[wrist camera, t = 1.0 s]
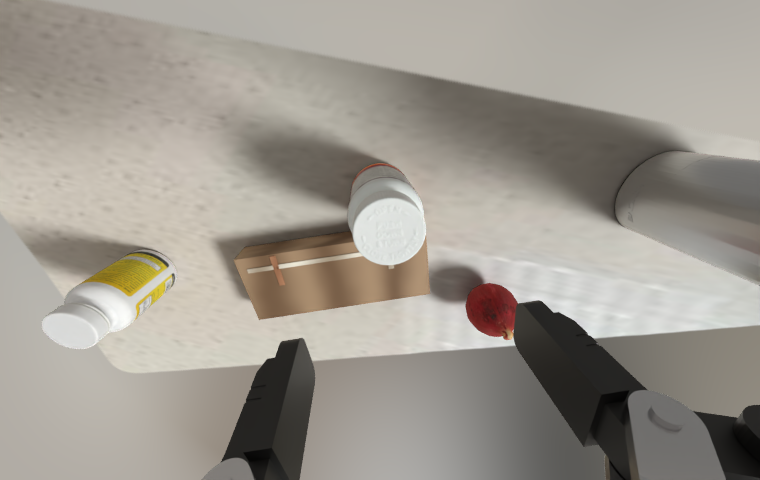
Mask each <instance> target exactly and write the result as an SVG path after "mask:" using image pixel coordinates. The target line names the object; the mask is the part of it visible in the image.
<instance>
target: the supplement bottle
mask: <svg viewBox="0 0 760 480" xmlns="http://www.w3.org/2000/svg"><path fill="white" fill-rule="evenodd" d="M176 279H177V270H176V268H175V266H174V264H173V263H172V262H171V261H170V260H169V259H168V258H167V257H165V256H164V255H162V254H160V253H158V252H155V251H152V250H138V251H134V252H132V253H130V254H128V255H126V256H125V257H123V258H121V259H120V260H118V261H117V262H115V263H113V264H112V265H110V266H108V267H107V268H105V269H103V270H102V271H100V272H99V273H97V274H95V275H94V276H92V277H90V278H89V279H87V280H85V281H84V282H82V283H81V284H79V285H77V286H76V287H74V288H73V289H72V290H71V291H69V293H68V294H67V295H66V298H65V301H64V305H62V306H60V307H58V308H57V309H55V310H54V311H53V312H51V313H49V314H48V315H46V316H45V317H44V318H43V320H42V329H43V331H44V332H45V334H46V335H47V336H48V337H49V338H50V339H51V340H53V341H54V342H56V343H58V344H60V345H62V346H65V347H68V348H73V349H84V348H89V347H92V346H93V345H95V344H96V343H97V342H98V341H100V340H101V339H102V338H103V337H104V336H105V335H106V334H108V333H109V332H116V331H119V330H122V329H124V328H126V327H127V326H129V325H130V324H131V323H132V322H133V321H135V320H136V319H137V318H138V317H139V316H140V315H141V314H142V313H143V312H144V311H145V310H147V309H148V308H149V307H150V306H151V305H152V304H153V303H154V302H155V301H156V300H158V299H159V298H160V297H161V296H162V295H163V294H164V293H165V292H166V291H167V290H168V289H170V288H171V287H172V286H173V285H174V283H175V282H176Z"/></svg>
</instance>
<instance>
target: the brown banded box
mask: <svg viewBox="0 0 760 480" xmlns="http://www.w3.org/2000/svg"><path fill="white" fill-rule="evenodd" d="M234 263H235V265H236V267H237V270H238V272H239V274H240V277H241V279H242V281H243V284H244V286H245V288H246V290H247V293H248V295H249V297H250V300H251V302H252V304H253V307H254V309H255V311H256V314H257V316H258V318H259V320H260V319H267V318H274V317H280V316H287V315H293V314H300V313H307V312H313V311H320V310H326V309H333V308H340V307H346V306H353V305H359V304H366V303H372V302H379V301H386V300H392V299H399V298H405V297H412V296H419V295H425V294H430V286H429V271H428V257H427V243H426V236H425V240H424V242H423V245H422V246H421V248H420V250H419V251H418V252H417V253H416V254H415V255H414V256H413V257H412V258H410V259H409V260H407V261H405V262H402V263H400V264H395V265H380V264H376V263H374V262H371V261H369V260H368V259H366V258H365V257H364V256H362V254H361V253H360V252H359V251H358V249H357V248H356V246H355V244H354V241H353V236H352V232H351V231H348V232H341V233H334V234H328V235H321V236H315V237H308V238H302V239H295V240H289V241H282V242H276V243H269V244H262V245H256V246H249V247H245V248H244V249H243V250H242V251H241V252H240V253H239V254H238V256H237V257H236V258H235V259H234Z"/></svg>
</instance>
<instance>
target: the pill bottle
mask: <svg viewBox="0 0 760 480" xmlns="http://www.w3.org/2000/svg"><path fill="white" fill-rule="evenodd" d="M348 224H349V228H350V230H351V232H352V236H353V241H354V244H355V246H356V248H357V249H358V251H359V252H360V253H361V254H362V256H364V257H365V258H366V259H368V260H369V261H371V262H374V263H376V264H380V265H395V264H400V263H402V262H405V261H407V260H409V259H410V258H412V257H413V256H414V255H415V254H416V253H417V252H418V251H419V250H420V248H421V246H422V245H423V242H424V240H425V236H426V224H425V220H424V209H423V205H422V202H421V199H420V197H419V195H418V194H417V192H416V191H415V190H414V188H413V187H412V185H411V184H410V182H409V181H408V180H407V178H406V177H405V176H404V174H403V173H402V172H401V171H400V170H399V169H397V168H396V167H394V166H392V165H389V164H385V163H376V164H372V165H369V166H367V167H365V168H364V169H362V170H361V171H360V172H359V173H358V174H357V176H356V177H355V179H354V181H353V183H352V188H351V194H350V202H349V207H348Z"/></svg>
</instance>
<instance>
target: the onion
mask: <svg viewBox="0 0 760 480" xmlns="http://www.w3.org/2000/svg"><path fill="white" fill-rule="evenodd" d="M517 304H518V303H517V301H516V299H515V298H514V296H513V295H512V293H511V292H510V291H508V290H507V289H506V288H504V287H502V286H500V285H497V284H491V283H487V284H481V285H479V286H477V287H475V288H474V289H473V290H472V291H471V292H470V293H469V295H468V298H467V302H466V311H467V316H468V319H469V320H470V322H471V323H472V324H473V325H474V326H475V328H477V329H478V330H479V331H480V332H482V333H484V334H486V335H489V336H494V337H500V336H503V338H504V339H505V340H511V339H512V337H513V332H512V330H513V329H514V322H515V313H516V306H517Z"/></svg>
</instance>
